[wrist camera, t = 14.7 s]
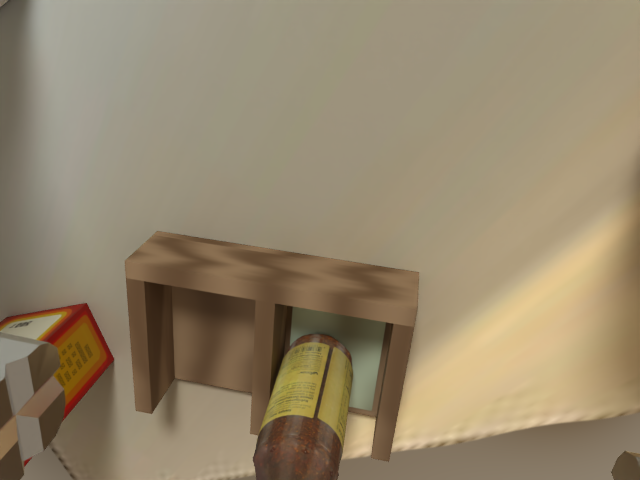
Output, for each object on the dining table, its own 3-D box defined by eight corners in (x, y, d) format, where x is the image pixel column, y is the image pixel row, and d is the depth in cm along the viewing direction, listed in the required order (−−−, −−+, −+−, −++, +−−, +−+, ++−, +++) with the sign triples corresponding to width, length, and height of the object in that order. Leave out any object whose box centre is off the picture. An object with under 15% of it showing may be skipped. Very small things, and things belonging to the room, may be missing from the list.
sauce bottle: (275, 367, 51) (193, 572, 33) (304, 317, 48) (230, 512, 31) (339, 399, 51) (291, 620, 34) (371, 351, 49) (337, 565, 31)
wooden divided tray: (163, 370, 55) (135, 410, 50) (157, 231, 49) (124, 261, 43) (393, 413, 52) (388, 461, 47) (419, 272, 46) (417, 309, 41)
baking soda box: (36, 370, 58) (-93, 497, 44) (6, 317, 56) (-140, 432, 42) (114, 359, 56) (4, 490, 41) (86, 302, 53) (-40, 421, 39)
